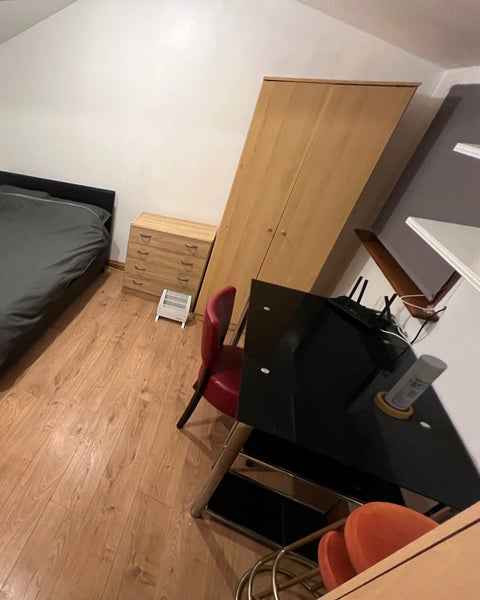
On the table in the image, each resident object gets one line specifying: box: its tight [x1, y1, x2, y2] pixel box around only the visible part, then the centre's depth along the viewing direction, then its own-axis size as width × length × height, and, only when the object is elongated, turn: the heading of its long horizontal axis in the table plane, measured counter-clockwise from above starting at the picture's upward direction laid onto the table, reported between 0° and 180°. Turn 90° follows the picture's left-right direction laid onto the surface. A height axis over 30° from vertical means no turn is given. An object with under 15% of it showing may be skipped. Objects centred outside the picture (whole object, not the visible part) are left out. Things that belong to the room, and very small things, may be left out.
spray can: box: [385, 353, 449, 410], centre depth 107 cm, size 6×6×20 cm
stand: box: [373, 391, 414, 420], centre depth 114 cm, size 10×10×3 cm
